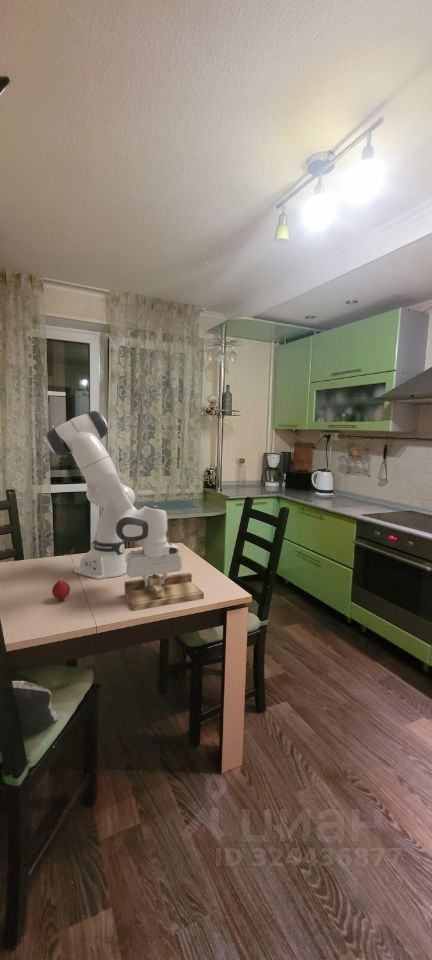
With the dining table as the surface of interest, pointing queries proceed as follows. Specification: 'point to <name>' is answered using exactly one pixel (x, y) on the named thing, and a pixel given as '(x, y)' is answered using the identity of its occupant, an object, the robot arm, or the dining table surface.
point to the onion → (60, 589)
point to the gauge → (156, 585)
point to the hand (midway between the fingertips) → (154, 585)
